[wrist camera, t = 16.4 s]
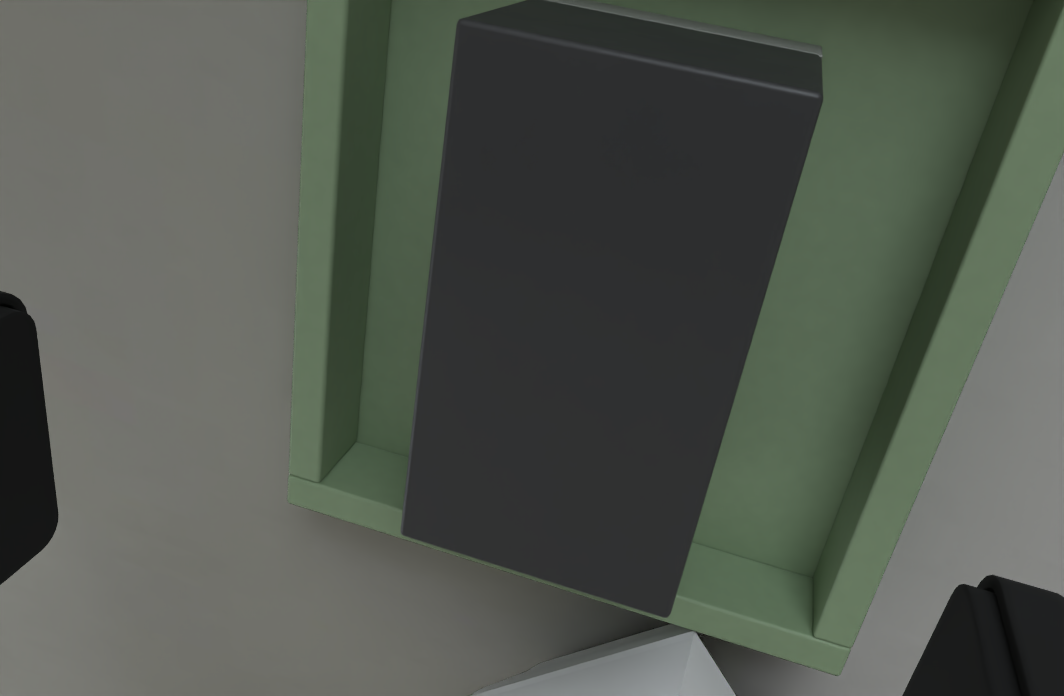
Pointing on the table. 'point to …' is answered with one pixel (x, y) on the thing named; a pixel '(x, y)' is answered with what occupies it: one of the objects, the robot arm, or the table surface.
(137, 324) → the table surface
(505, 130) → the eraser
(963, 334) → the tray
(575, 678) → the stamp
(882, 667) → the table surface
